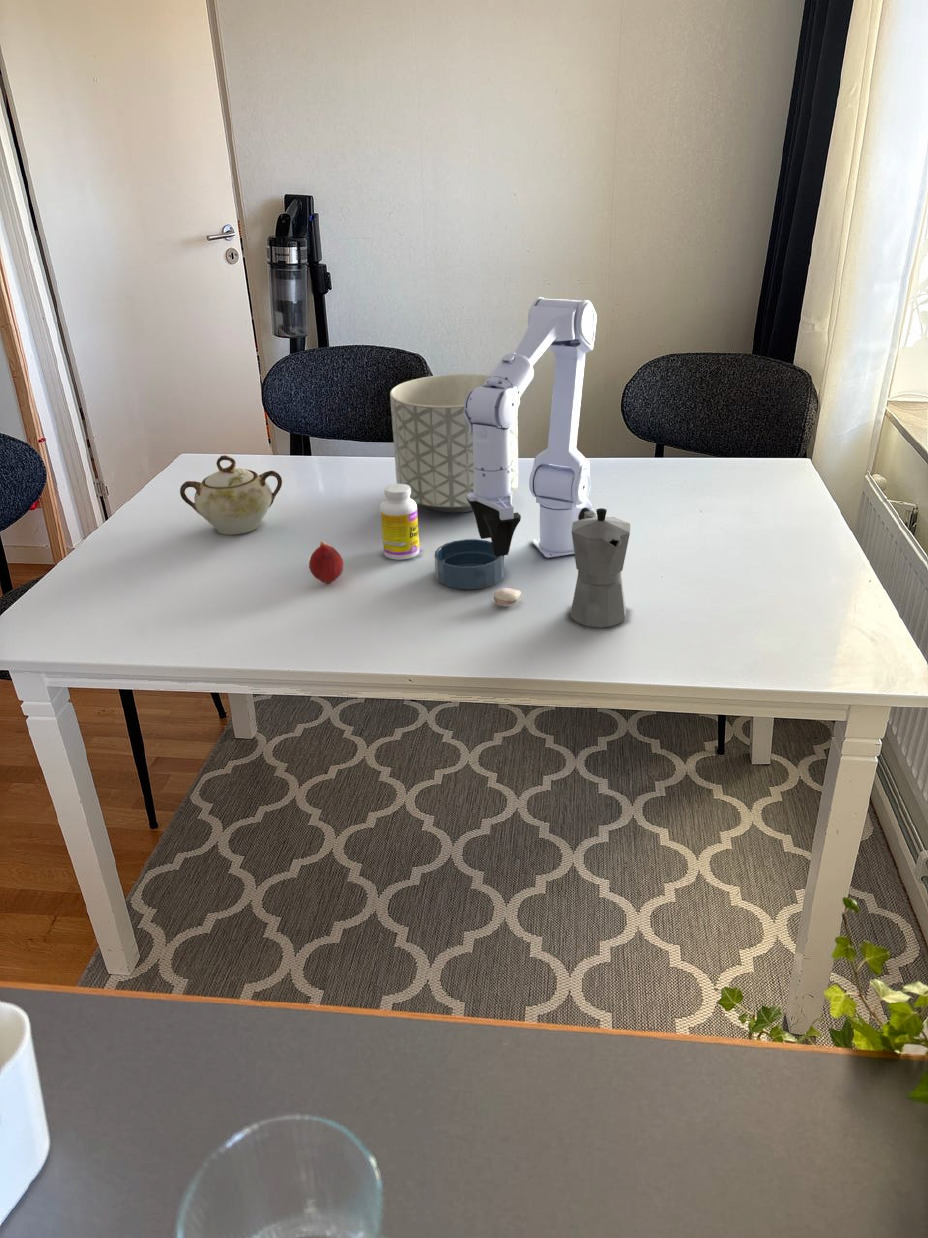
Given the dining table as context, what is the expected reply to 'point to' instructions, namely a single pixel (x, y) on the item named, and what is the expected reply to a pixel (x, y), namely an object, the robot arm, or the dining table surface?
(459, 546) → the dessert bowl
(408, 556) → the supplement bottle
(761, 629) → the dining table surface
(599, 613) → the coffeepot
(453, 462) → the planter
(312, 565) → the onion
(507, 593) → the beige pebble
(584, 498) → the robot arm
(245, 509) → the sugar bowl
